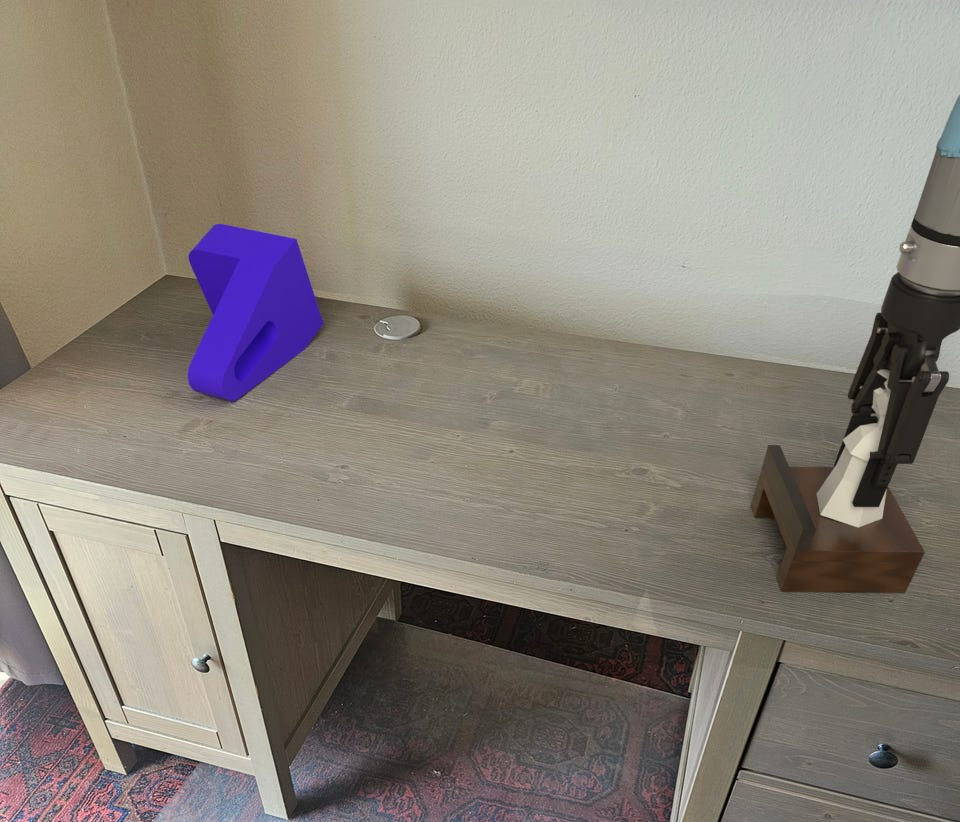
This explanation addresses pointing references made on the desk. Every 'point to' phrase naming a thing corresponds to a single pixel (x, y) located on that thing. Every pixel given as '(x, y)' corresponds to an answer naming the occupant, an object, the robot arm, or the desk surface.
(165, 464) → the desk surface
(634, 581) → the desk surface
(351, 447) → the desk surface
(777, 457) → the brown wooden block
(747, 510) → the desk surface
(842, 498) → the figurine
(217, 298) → the bracket
